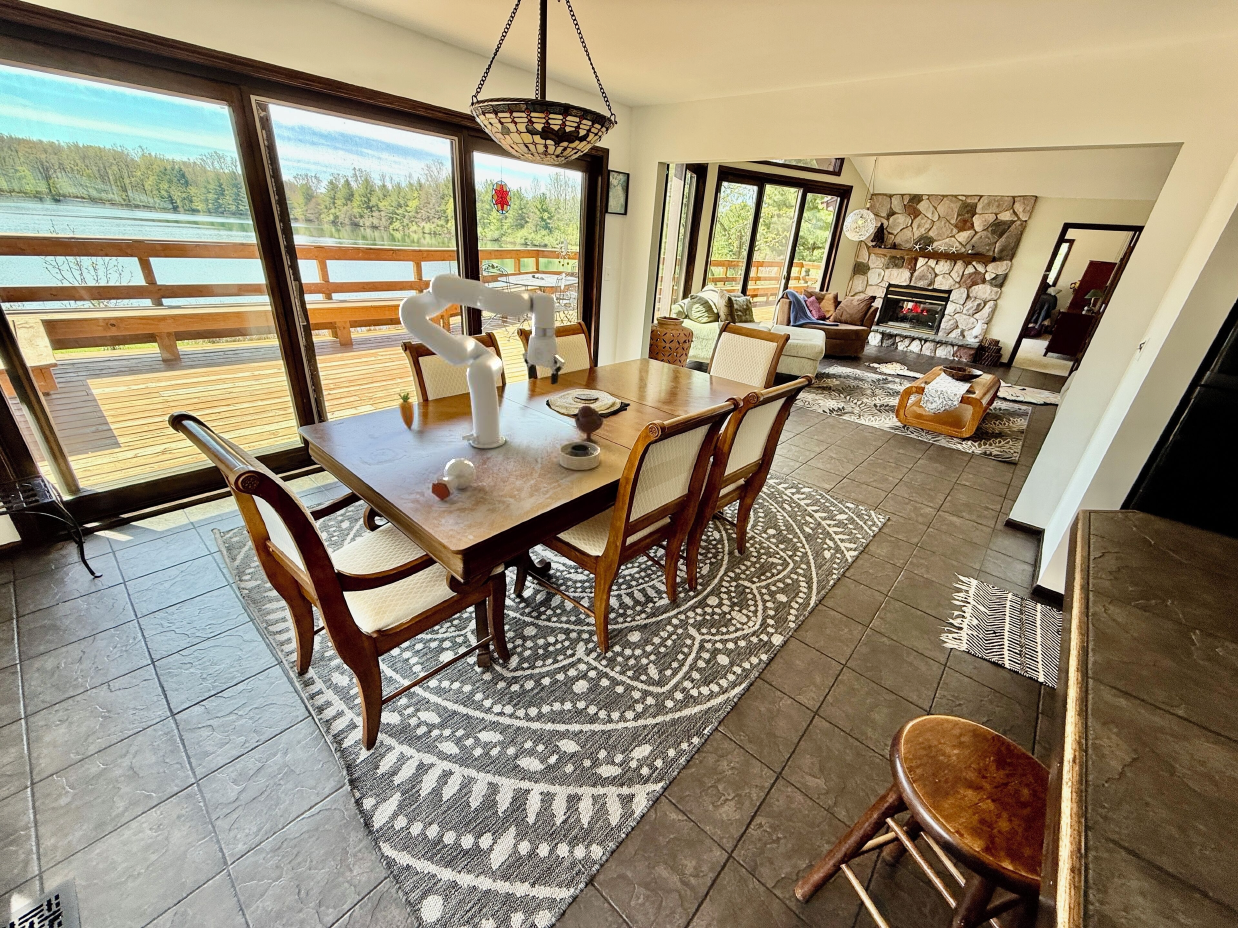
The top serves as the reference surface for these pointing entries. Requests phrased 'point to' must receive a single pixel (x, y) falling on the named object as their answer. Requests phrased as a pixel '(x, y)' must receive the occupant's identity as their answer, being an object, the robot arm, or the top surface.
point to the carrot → (406, 410)
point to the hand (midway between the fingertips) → (543, 381)
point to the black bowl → (579, 450)
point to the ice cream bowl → (588, 422)
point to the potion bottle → (454, 478)
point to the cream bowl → (579, 462)
